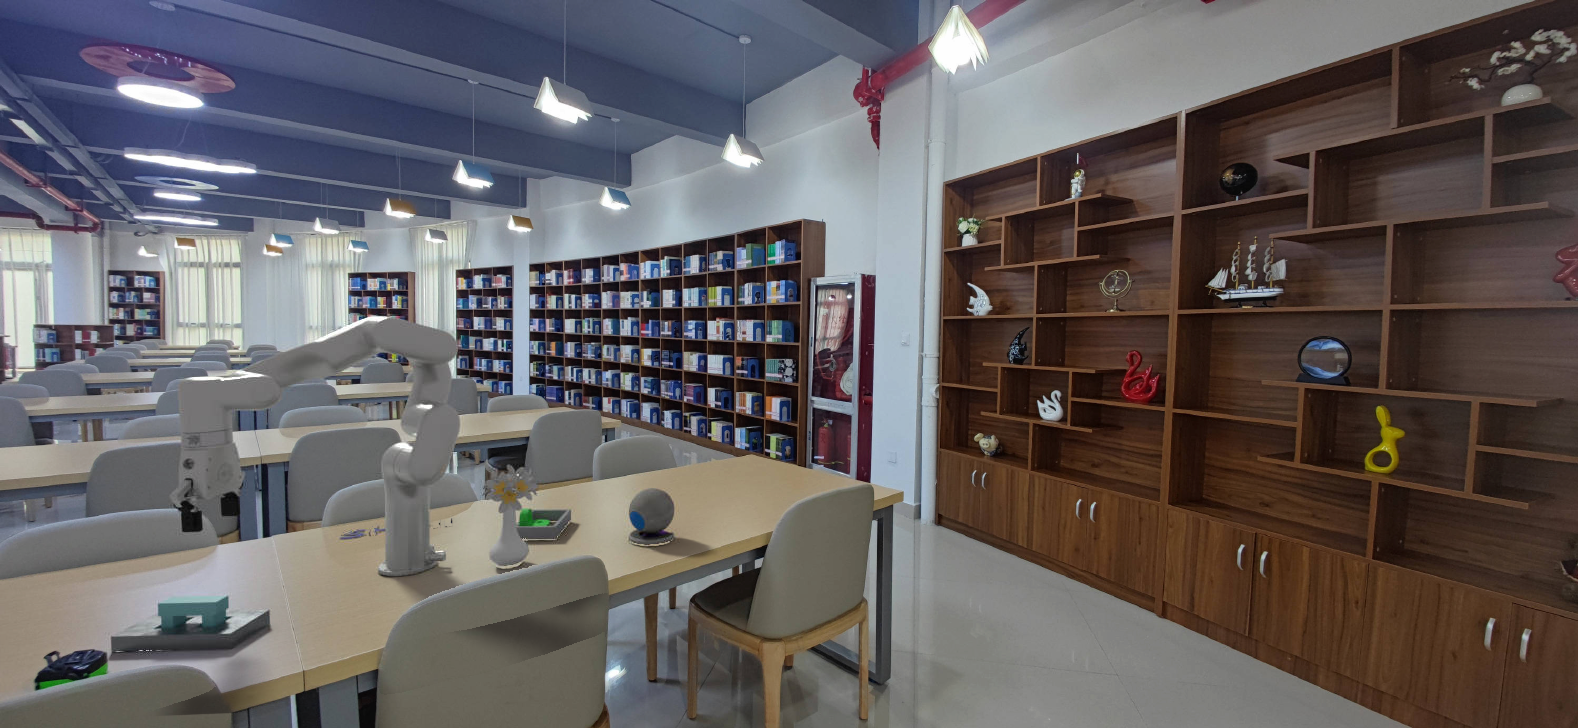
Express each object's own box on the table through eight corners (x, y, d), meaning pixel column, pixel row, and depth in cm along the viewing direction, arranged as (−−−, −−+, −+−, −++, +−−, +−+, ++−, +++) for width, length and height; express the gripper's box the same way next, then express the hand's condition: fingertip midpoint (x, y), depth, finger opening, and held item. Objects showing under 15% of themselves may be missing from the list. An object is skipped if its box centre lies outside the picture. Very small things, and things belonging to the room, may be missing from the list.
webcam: (682, 538, 183) (683, 488, 182) (651, 550, 172) (652, 497, 172) (650, 530, 190) (651, 481, 189) (618, 541, 179) (619, 489, 178)
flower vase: (489, 583, 147) (489, 479, 146) (478, 559, 163) (478, 464, 162) (546, 572, 155) (546, 473, 154) (530, 550, 170) (531, 460, 169)
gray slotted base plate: (269, 624, 125) (269, 609, 125) (230, 649, 115) (230, 633, 115) (160, 626, 123) (160, 611, 123) (111, 652, 113) (110, 636, 113)
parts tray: (571, 521, 196) (571, 509, 196) (555, 540, 178) (555, 526, 178) (531, 522, 195) (531, 509, 195) (512, 541, 177) (512, 527, 177)
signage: (338, 539, 175) (342, 529, 183) (338, 541, 175) (342, 531, 183) (452, 525, 189) (451, 516, 198) (452, 527, 189) (451, 518, 198)
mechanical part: (540, 538, 181) (540, 511, 180) (519, 538, 180) (519, 511, 180) (552, 525, 193) (552, 500, 192) (532, 525, 192) (532, 500, 192)
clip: (229, 632, 121) (228, 595, 121) (216, 640, 118) (216, 602, 118) (172, 634, 120) (171, 596, 120) (158, 642, 117) (157, 603, 117)
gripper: (192, 447, 115) (198, 537, 116) (259, 431, 132) (263, 509, 133) (147, 448, 114) (153, 539, 115) (220, 431, 131) (224, 510, 132)
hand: (212, 523), depth 124 cm, fingers open, 9 cm apart
